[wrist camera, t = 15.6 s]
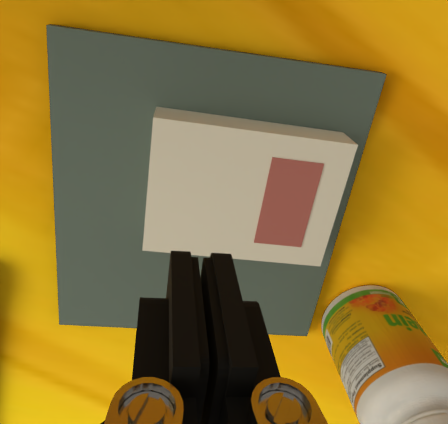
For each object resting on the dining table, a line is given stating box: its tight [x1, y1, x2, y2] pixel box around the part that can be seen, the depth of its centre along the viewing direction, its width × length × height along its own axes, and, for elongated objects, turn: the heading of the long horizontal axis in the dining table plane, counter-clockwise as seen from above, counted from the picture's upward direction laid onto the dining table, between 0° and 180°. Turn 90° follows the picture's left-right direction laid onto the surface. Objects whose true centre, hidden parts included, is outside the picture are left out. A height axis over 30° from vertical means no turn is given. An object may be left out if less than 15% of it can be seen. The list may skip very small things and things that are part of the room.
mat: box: [46, 24, 386, 336], centre depth 22 cm, size 16×15×1 cm
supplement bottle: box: [322, 285, 448, 424], centre depth 22 cm, size 5×5×10 cm
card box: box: [142, 107, 358, 266], centre depth 20 cm, size 6×2×9 cm
